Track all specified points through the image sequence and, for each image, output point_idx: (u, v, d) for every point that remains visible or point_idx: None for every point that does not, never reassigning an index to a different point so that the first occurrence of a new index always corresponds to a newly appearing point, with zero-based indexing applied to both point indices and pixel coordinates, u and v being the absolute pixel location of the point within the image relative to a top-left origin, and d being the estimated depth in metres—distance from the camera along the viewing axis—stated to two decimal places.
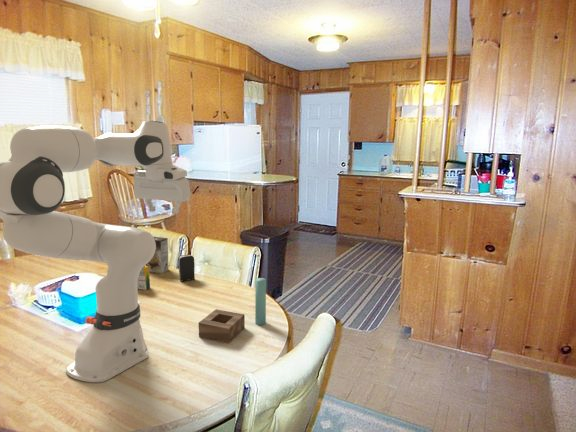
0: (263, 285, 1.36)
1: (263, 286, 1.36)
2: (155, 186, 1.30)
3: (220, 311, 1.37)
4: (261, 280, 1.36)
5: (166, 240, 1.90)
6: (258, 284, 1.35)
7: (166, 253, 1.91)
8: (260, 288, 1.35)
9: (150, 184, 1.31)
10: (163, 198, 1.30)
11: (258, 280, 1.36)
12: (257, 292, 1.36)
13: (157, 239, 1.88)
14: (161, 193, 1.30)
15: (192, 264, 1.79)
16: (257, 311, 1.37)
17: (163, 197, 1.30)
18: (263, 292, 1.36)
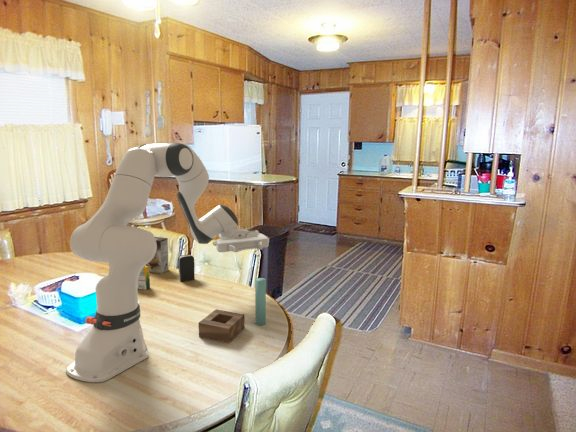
0: (263, 285, 1.36)
1: (263, 286, 1.36)
2: (238, 239, 1.53)
3: (220, 311, 1.37)
4: (261, 280, 1.36)
5: (166, 240, 1.90)
6: (258, 284, 1.35)
7: (166, 253, 1.91)
8: (260, 288, 1.35)
9: (233, 239, 1.53)
10: (248, 240, 1.51)
11: (258, 280, 1.36)
12: (257, 292, 1.36)
13: (157, 239, 1.88)
14: (245, 239, 1.52)
15: (192, 264, 1.79)
16: (257, 311, 1.37)
17: (248, 239, 1.52)
18: (263, 292, 1.36)
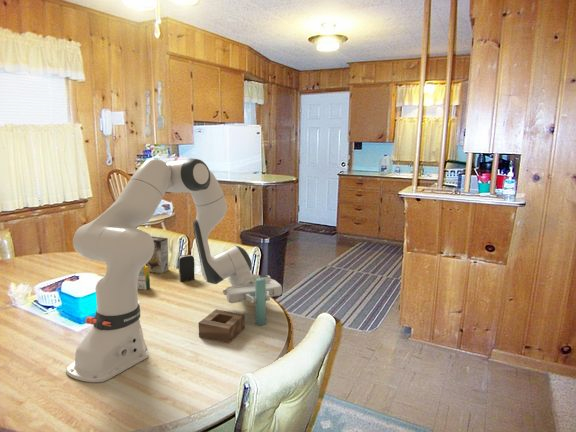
0: (263, 285, 1.36)
1: (263, 286, 1.36)
2: (249, 286, 1.45)
3: (220, 311, 1.37)
4: (261, 280, 1.36)
5: (166, 240, 1.90)
6: (258, 284, 1.35)
7: (166, 253, 1.91)
8: (260, 288, 1.35)
9: (244, 287, 1.44)
10: None
11: (258, 280, 1.36)
12: (257, 292, 1.36)
13: (157, 239, 1.88)
14: None
15: (192, 264, 1.79)
16: (257, 311, 1.37)
17: None
18: (263, 292, 1.36)
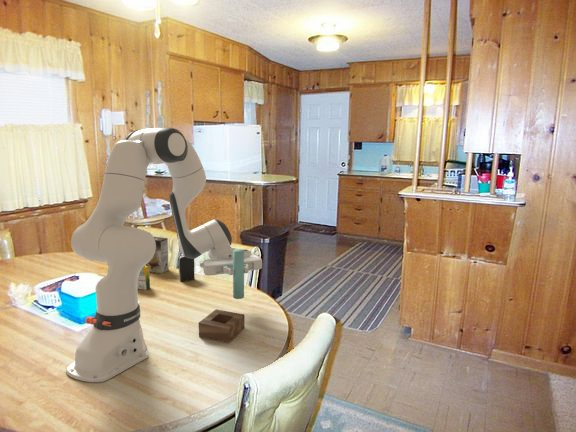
0: (241, 256, 1.29)
1: (241, 257, 1.29)
2: (228, 260, 1.38)
3: (220, 311, 1.37)
4: (239, 251, 1.29)
5: (166, 240, 1.90)
6: (235, 255, 1.29)
7: (166, 253, 1.91)
8: (238, 259, 1.29)
9: (222, 260, 1.38)
10: None
11: (236, 251, 1.29)
12: (235, 263, 1.29)
13: (157, 239, 1.88)
14: None
15: (192, 264, 1.79)
16: (235, 284, 1.31)
17: None
18: (241, 263, 1.30)
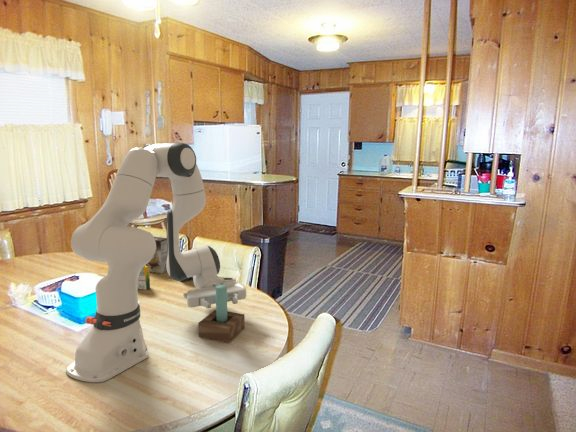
0: (223, 293, 1.29)
1: (224, 294, 1.29)
2: (212, 290, 1.37)
3: None
4: (221, 287, 1.29)
5: (166, 240, 1.90)
6: (218, 292, 1.28)
7: (166, 253, 1.91)
8: (220, 296, 1.28)
9: (206, 290, 1.37)
10: None
11: (218, 287, 1.29)
12: (217, 300, 1.29)
13: (157, 239, 1.88)
14: None
15: None
16: (218, 320, 1.30)
17: None
18: (224, 300, 1.29)
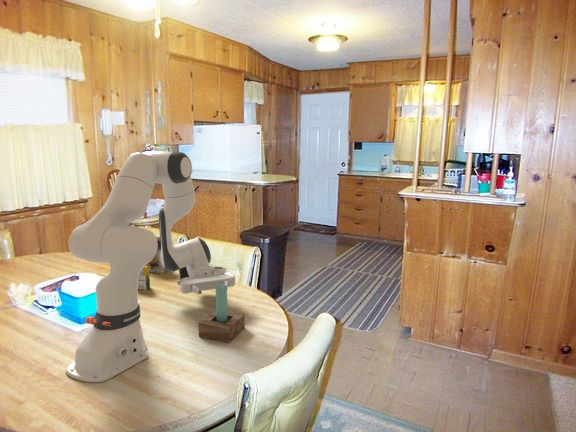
0: (224, 293, 1.29)
1: (224, 294, 1.29)
2: (204, 278, 1.49)
3: None
4: (222, 287, 1.29)
5: None
6: (218, 292, 1.28)
7: None
8: (220, 296, 1.28)
9: (198, 278, 1.49)
10: (214, 279, 1.47)
11: (218, 287, 1.29)
12: (217, 300, 1.29)
13: (157, 239, 1.88)
14: (211, 278, 1.48)
15: None
16: (218, 320, 1.30)
17: (213, 279, 1.47)
18: (224, 300, 1.29)
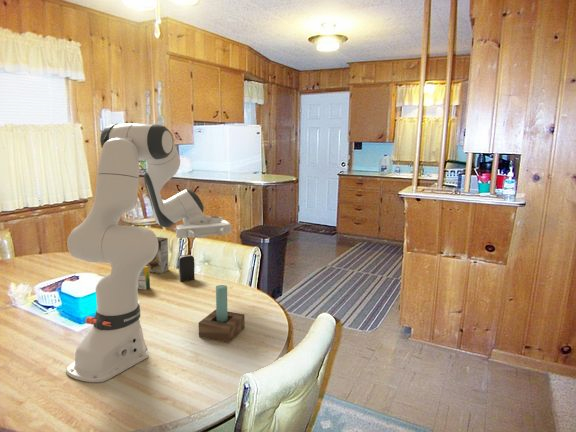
0: (224, 293, 1.29)
1: (224, 294, 1.29)
2: (199, 225, 1.49)
3: None
4: (222, 287, 1.29)
5: (166, 240, 1.90)
6: (218, 292, 1.28)
7: (166, 253, 1.91)
8: (221, 296, 1.28)
9: (194, 225, 1.48)
10: (209, 225, 1.46)
11: (219, 287, 1.29)
12: (218, 300, 1.29)
13: None
14: (207, 225, 1.48)
15: (192, 264, 1.79)
16: (218, 320, 1.30)
17: (209, 225, 1.47)
18: (224, 300, 1.29)
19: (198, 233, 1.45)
